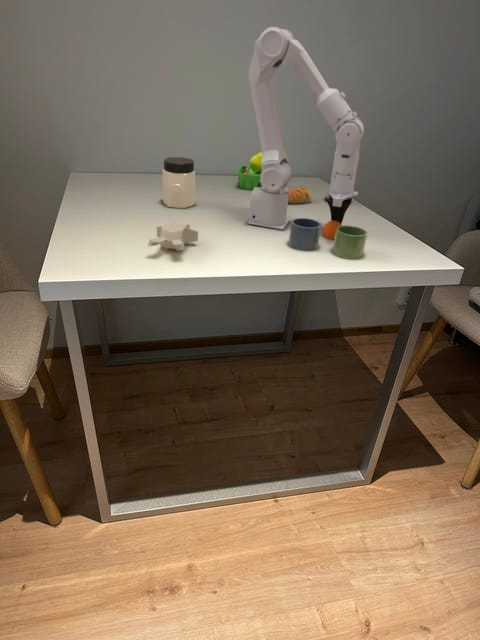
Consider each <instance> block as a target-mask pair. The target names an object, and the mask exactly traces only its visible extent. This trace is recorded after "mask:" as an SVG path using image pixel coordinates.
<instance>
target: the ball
mask: <svg viewBox="0 0 480 640" xmlns="http://www.w3.org/2000/svg"><path fill="white" fill-rule="evenodd" d="M339 226H343V224H341V223H339V222H338V221H331V220H330V221H328V222H326V223H325V224H324V226H323V229H322V233H323V236H324V237H325V238H326V239H329V240H334V239H335V234H336V229H337V227H339Z"/></svg>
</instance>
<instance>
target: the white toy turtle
mask: <svg viewBox="0 0 480 640" xmlns="http://www.w3.org/2000/svg"><path fill="white" fill-rule="evenodd" d="M198 240H199V231H198V230H195V229H192V228H191V226H190V224H189V223H180V222H172V221H170V224H164V225H161V226H157V227H156V237H154V238H151V239H149V241H148V243H147V245H148V247H155V246H158V245H160V247H161V248H163V250H165V251H168V250H169V249H171V250H172V249H173V250H175V251H176V252H180V251H184V250H186V247H185V245H187V244H191V243H195V242H198Z"/></svg>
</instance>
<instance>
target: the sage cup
mask: <svg viewBox="0 0 480 640" xmlns="http://www.w3.org/2000/svg"><path fill="white" fill-rule="evenodd" d="M367 237H368V231H367V230H366V229H364V228H363V227H359V226H355V225H348V224H347V225H345V224H343V225H342V226H339V227H337V229H336V234H335V239H333V245H332V253H333V254H334V255H335V256H337V257H340V258H343V259H349V260H357V259H360V258H362V257H363V255H364V250H365V246H366V242H367Z"/></svg>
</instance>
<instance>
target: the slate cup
mask: <svg viewBox="0 0 480 640" xmlns="http://www.w3.org/2000/svg"><path fill="white" fill-rule="evenodd" d="M322 225H323V224H322V223H321V222H320V221H318V220H316V219H312V218H307V217H299V218H298V217H297V218H293V219H291V221H290V228H289V237H288V245H289V246H290V247H291V248H293V249H295V250H300V251H306V252H307V251H314V250H317V249H318V248H319V243H320V237H321V231H322Z"/></svg>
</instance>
